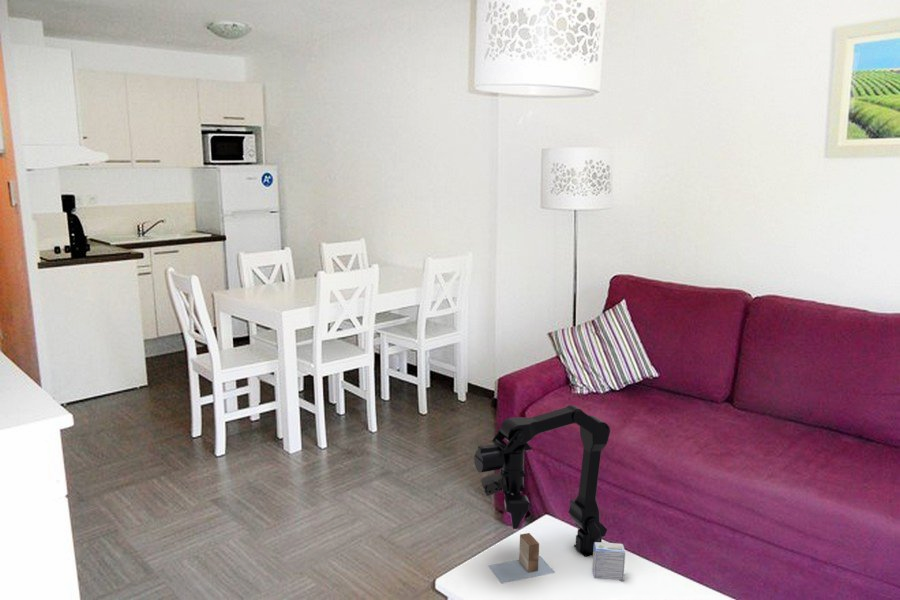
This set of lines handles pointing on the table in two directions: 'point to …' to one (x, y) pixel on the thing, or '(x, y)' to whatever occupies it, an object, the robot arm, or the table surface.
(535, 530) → the table surface
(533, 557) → the walnut tile
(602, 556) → the medicine box
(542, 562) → the mat
